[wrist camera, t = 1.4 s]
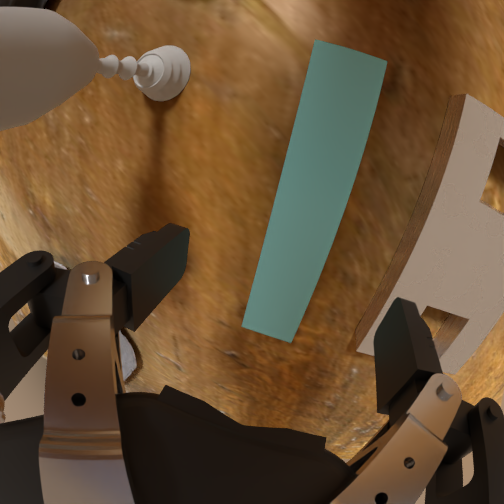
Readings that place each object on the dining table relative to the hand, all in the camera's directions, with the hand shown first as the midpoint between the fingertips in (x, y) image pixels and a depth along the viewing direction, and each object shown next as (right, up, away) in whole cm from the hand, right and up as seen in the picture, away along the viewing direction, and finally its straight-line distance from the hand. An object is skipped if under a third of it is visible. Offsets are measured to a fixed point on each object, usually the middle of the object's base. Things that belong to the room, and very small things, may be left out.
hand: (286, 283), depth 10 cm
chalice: (-8, +16, +9) cm, 20 cm away
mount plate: (+17, +1, +9) cm, 19 cm away
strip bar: (+3, +6, +11) cm, 13 cm away
